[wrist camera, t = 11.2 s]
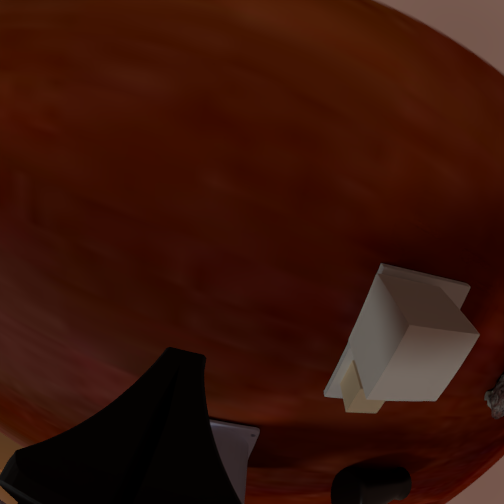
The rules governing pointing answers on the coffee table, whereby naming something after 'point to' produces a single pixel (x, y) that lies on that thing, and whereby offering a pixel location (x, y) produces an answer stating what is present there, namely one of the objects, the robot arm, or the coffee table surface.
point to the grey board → (346, 372)
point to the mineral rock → (496, 399)
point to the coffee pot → (370, 486)
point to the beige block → (409, 340)
